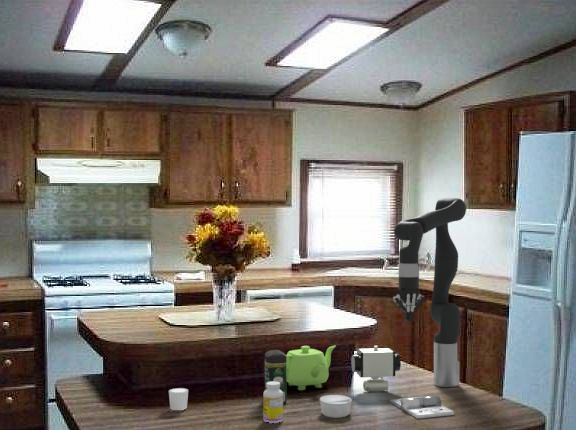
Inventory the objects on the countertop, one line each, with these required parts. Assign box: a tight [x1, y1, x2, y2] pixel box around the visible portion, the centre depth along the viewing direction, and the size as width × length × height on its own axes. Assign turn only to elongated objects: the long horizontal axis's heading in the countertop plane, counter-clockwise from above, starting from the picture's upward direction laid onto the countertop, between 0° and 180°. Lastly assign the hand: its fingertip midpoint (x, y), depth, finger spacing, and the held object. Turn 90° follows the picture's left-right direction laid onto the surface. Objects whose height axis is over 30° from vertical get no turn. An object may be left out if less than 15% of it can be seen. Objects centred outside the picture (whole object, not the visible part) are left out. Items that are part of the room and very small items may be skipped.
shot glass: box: [168, 387, 189, 410], centre depth 250 cm, size 7×7×7 cm
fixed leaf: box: [389, 395, 442, 410], centre depth 255 cm, size 15×12×4 cm
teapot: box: [285, 345, 337, 391], centre depth 282 cm, size 25×22×16 cm
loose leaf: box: [401, 396, 455, 419], centre depth 247 cm, size 14×12×4 cm
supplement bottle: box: [262, 381, 284, 424], centre depth 237 cm, size 7×7×13 cm
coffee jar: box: [264, 349, 288, 404], centre depth 261 cm, size 10×8×19 cm
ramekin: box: [319, 394, 353, 419], centre depth 245 cm, size 11×11×5 cm
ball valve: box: [351, 345, 402, 393], centre depth 275 cm, size 18×8×18 cm, turn 97°
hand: (408, 321), depth 263 cm, fingers closed
